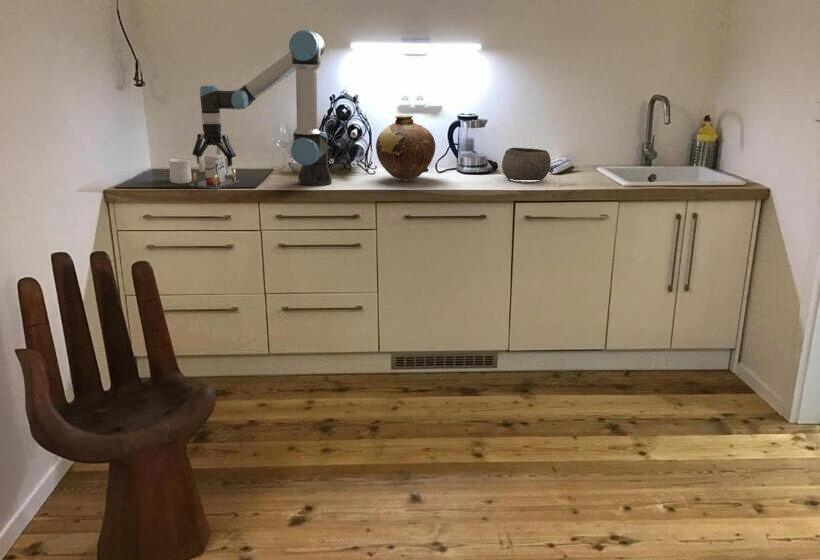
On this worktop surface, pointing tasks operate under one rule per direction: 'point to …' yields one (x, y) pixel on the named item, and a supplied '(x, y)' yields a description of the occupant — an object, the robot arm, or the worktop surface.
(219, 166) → the ink box
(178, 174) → the cup
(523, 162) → the bowl
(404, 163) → the vase
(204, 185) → the chassis
